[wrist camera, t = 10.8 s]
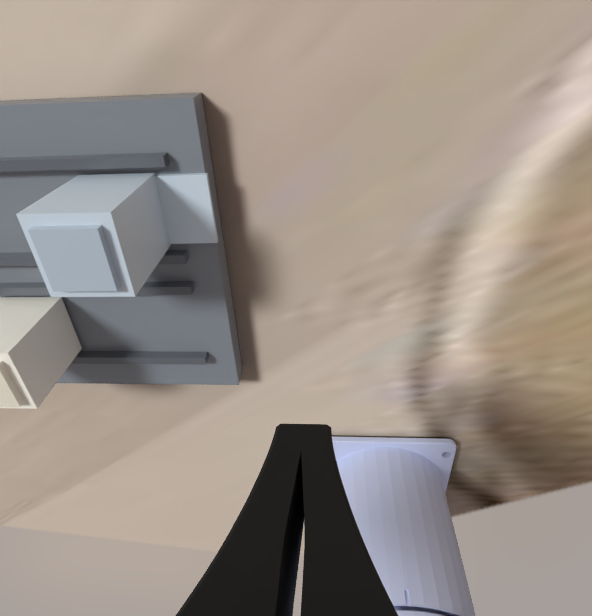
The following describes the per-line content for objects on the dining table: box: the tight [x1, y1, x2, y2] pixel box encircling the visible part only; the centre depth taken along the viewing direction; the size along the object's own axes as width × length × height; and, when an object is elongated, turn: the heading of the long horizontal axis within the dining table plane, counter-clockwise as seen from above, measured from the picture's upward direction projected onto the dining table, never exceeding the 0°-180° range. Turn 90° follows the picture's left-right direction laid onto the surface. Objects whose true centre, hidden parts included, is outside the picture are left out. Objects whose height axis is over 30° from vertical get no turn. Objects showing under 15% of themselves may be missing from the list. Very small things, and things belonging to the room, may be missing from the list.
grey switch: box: [16, 173, 171, 297], centre depth 16 cm, size 3×3×4 cm
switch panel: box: [0, 93, 242, 385], centre depth 20 cm, size 14×13×2 cm
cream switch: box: [0, 297, 82, 409], centre depth 19 cm, size 3×3×4 cm
